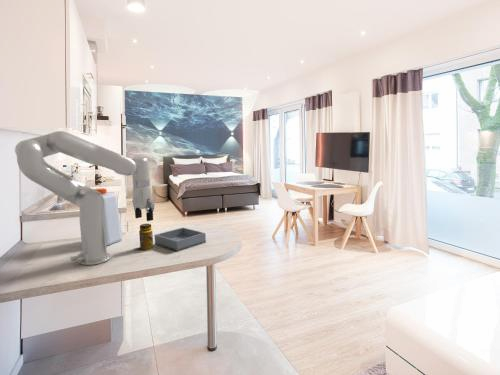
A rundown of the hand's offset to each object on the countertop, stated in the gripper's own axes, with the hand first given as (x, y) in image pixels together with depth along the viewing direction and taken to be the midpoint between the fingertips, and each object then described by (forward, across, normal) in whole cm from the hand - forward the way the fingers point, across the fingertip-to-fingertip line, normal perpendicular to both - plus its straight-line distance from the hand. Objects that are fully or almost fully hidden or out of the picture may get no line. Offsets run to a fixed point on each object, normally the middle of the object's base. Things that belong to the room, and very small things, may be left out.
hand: (144, 219), depth 152 cm
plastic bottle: (+15, -27, -8) cm, 32 cm away
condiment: (+15, 0, -1) cm, 15 cm away
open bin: (+15, +7, +15) cm, 22 cm away
